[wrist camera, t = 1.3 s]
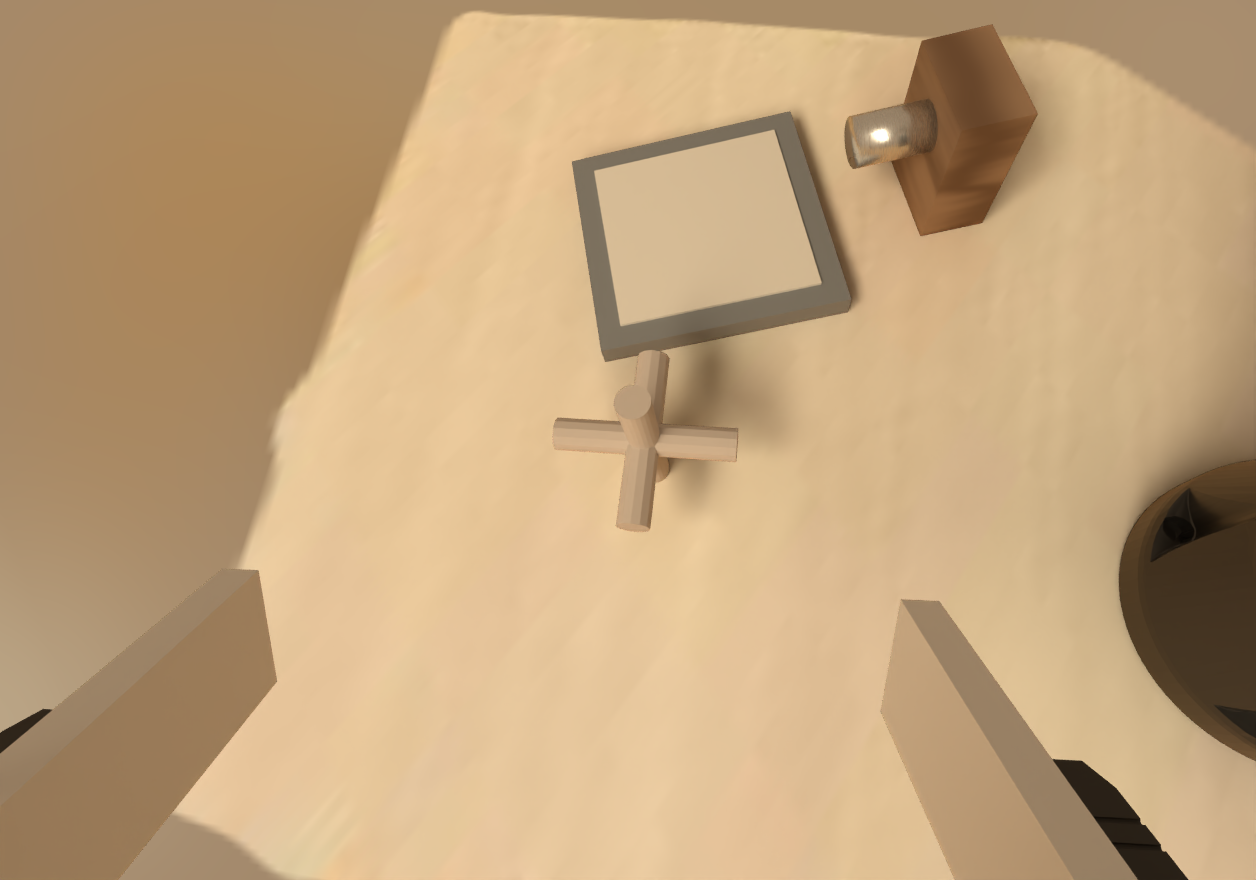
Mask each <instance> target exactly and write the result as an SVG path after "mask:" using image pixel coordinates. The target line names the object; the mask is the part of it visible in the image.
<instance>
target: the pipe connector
mask: <svg viewBox="0 0 1256 880" xmlns="http://www.w3.org/2000/svg"><path fill="white" fill-rule="evenodd" d="M669 359H670V358H669V357H668V355H667V354H665V353H663V352H661V351H655V350H646V351H643V352H641V353H639V356H638V362H637V369H636V377H635V385H629V386H626V387H624V388H622V389H621V390H620V391H619V392H618V393H617V394H616V396H615V399H614V408H615V411H616V413H617V416H618V418H619V421H603V420H586V419H569V418H557V419H556V420H555V423H554V427H553V436H552V437H553V446H554V449H556V450H568V451H583V452H597V453H612V454H625V461H624V468H623V476H622V484H621V491H620V499H619V506H618V514H617V522H616V527H618V528H620V529H623V530H627V531H634V532H646V531H649V530H650V526H651V517H652V508H653V499H654V491H655V482H660V481H662V480H664V479H665V478H666V477H667V475H668V473H669V463H668V459H667V457H671V458H685V459H700V460H715V461H729V462H736V458H737V444H738V429H737V428H720V427H704V426H687V425H670V424H662V420H663V411H664V403H665V394H666V385H667V376H668V368H669Z"/></svg>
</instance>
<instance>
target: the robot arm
mask: <svg viewBox="0 0 1256 880" xmlns="http://www.w3.org/2000/svg"><path fill="white" fill-rule="evenodd" d="M1119 591H1120V601H1121V607H1122V612H1123V616H1124V620H1125V623H1126V627H1127V630H1128V632H1129V635H1130V637H1131V640H1132V642H1133V644H1134V647H1135V649H1136V651H1137V653H1138V655H1139V656H1140V658H1141V660H1142V662H1143V664H1144V665H1145V667H1146V668H1147V670H1148V672H1149V673H1150V675H1151V676H1152V677H1153V679H1154V680H1155V682H1156V683H1157V684H1158V686H1159V687H1160V688H1161V689H1162V690H1163V692H1164V693H1165V694H1166V695H1167V696H1168V697H1169V699H1170V700H1171V701H1172V702H1173V703H1174V704H1175V705H1176V706H1177V707H1178V708H1179V709H1180V710H1181V711H1182V712H1183V713H1184V714H1185V715H1186V716H1187V717H1189V718H1190V719H1191V720H1192V721H1193V722H1194V723H1195V724H1197V725H1198V726H1199V727H1200V728H1202V729H1203V730H1204V731H1206V732H1207V733H1208V734H1210V735H1211V736H1213V737H1214V738H1215V739H1217V740H1218V741H1220V742H1221V743H1223V744H1225V745H1226V746H1228V747H1230V748H1231V749H1233V750H1235V751H1237V752H1239V753H1240V754H1242V755H1244V756H1246V757H1248V758H1250V759H1253V760H1255V761H1256V460H1251V461H1244V462H1239V463H1235V464H1230V465H1226V466H1223V467H1220V468H1216V469H1214V470H1211V471H1208V472H1206V473H1204V474H1202V475H1200V476H1197V477H1195V478H1193V479H1191V480H1189V481H1187V482H1185V483H1183V484H1181V485H1179V486H1177V487H1175V488H1173V489H1172V490H1170V491H1168V492H1167V493H1165V494H1164V495H1162V496H1161V497H1160V498H1158V499H1157V500H1156V501H1155V502H1154V503H1153V504H1151V505H1150V506H1149V508H1148V509H1147V510H1146V511H1145V512H1144V513H1143V514H1142V515H1141V517H1140V518H1139V519H1138V521H1137V522H1136V524H1135V525H1134V527H1133V529H1132V531H1131V533H1130V535H1129V537H1128V539H1127V542H1126V544H1125V547H1124V551H1123V554H1122V559H1121V564H1120V572H1119ZM276 682H277V678H276V672H275V666H274V660H273V654H272V648H271V642H270V636H269V630H268V624H267V618H266V612H265V606H264V600H263V594H262V589H261V583H260V577H259V571H258V570H240V569H221V570H220V571H219V572H218V573H216V574H215V575H214V576H213V577H211V578H210V579H209V580H208V581H207V582H206V583H204V584H203V585H202V586H201V587H200V588H198V589H197V590H196V591H195V592H194V593H192V594H191V595H190V596H189V597H188V598H186V599H185V600H184V601H183V602H182V603H180V604H179V605H178V606H177V607H176V608H174V609H173V610H172V611H171V612H170V613H168V614H167V615H166V616H165V617H164V618H162V619H161V620H160V621H159V622H158V623H157V624H155V625H154V626H153V627H152V628H150V629H149V630H148V631H147V632H146V633H144V634H143V635H142V636H141V637H140V638H138V639H137V640H136V641H135V642H134V643H132V644H131V645H130V646H129V647H128V648H126V649H125V650H124V651H123V652H122V653H120V654H119V655H118V656H117V657H116V658H114V659H113V660H112V661H111V662H110V663H108V664H107V665H106V666H105V667H104V668H102V669H101V670H100V671H99V672H98V673H96V674H95V675H94V676H93V677H92V678H90V679H89V680H88V681H87V682H86V683H84V684H83V685H82V686H81V687H80V688H79V689H77V690H76V691H75V692H74V693H73V694H71V695H70V696H69V697H68V698H67V699H65V700H64V701H63V702H62V703H60V704H59V705H58V706H57V707H56V708H54V709H53V710H50V709H42V710H41V711H39V712H37V713H35V714H33V715H31V716H30V717H28V718H26V719H24V720H22V721H20V722H19V723H17V724H15V725H13V726H11V727H9V728H8V729H6V730H4V731H2V732H1V733H0V880H118V879H119V878H120V877H121V876H122V875H123V873H124V872H125V871H126V869H127V868H128V867H129V866H130V864H131V863H132V862H133V861H134V859H135V858H136V857H137V856H138V855H139V853H140V852H141V851H142V850H143V848H144V847H145V846H146V845H147V843H148V842H149V841H150V840H151V838H152V837H153V836H154V834H155V833H156V832H157V831H158V830H159V828H160V827H161V826H162V825H163V823H164V822H165V821H166V820H167V818H168V817H169V816H170V814H171V813H172V812H173V811H174V809H175V808H176V807H177V806H178V804H179V803H180V802H181V801H182V799H183V798H184V797H185V796H186V794H187V793H188V792H189V791H190V789H191V788H192V787H193V786H194V784H195V783H196V782H197V781H198V779H199V778H200V777H201V776H202V774H203V773H204V772H205V771H206V769H207V768H208V767H209V766H210V764H211V763H212V762H213V761H214V759H215V758H216V757H217V756H218V754H219V753H220V752H221V751H222V749H223V748H224V747H225V746H226V744H227V743H228V742H229V741H230V739H231V738H232V737H233V736H234V734H235V733H236V732H237V731H238V729H239V728H240V727H241V726H242V724H243V723H244V722H245V721H246V719H247V718H248V717H249V716H250V714H251V713H252V712H253V711H254V709H255V708H256V707H257V706H258V704H259V703H260V702H261V701H262V699H263V698H264V697H265V696H266V694H267V693H268V692H269V691H270V689H271V688H272V687H273V686H274V684H275V683H276ZM881 714H882V716H883V718H884V721H885V723H886V725H887V727H888V730H889V732H890V734H891V736H892V739H893V741H894V743H895V745H896V748H897V750H898V752H899V755H900V757H901V759H902V761H903V764H904V766H905V768H906V770H907V773H908V775H909V777H910V779H911V782H912V784H913V786H914V789H915V791H916V793H917V795H918V798H919V800H920V802H921V804H922V807H923V809H924V811H925V813H926V816H927V818H928V820H929V822H930V825H931V827H932V829H933V832H934V834H935V836H936V838H937V841H938V843H939V845H940V847H941V850H942V852H943V854H944V856H945V859H946V861H947V863H948V866H949V868H950V870H951V872H952V875H953V877H954V879H955V880H1188V879H1187V877H1186V876H1185V875H1184V874H1183V872H1182V871H1181V870H1180V869H1179V867H1178V866H1177V865H1176V863H1175V862H1174V861H1173V860H1172V858H1171V857H1170V856H1169V855H1168V853H1167V852H1164V851H1162V849H1161V844H1160V843H1159V842H1158V841H1157V839H1156V838H1155V837H1154V836H1153V834H1152V833H1151V832H1150V830H1149V829H1148V828H1147V827H1146V825H1142V824H1141V822H1140V818H1139V816H1138V815H1137V814H1136V813H1135V811H1134V810H1133V809H1132V808H1131V806H1130V805H1129V804H1128V803H1127V801H1126V800H1125V799H1124V797H1123V796H1122V795H1121V794H1120V792H1119V791H1118V790H1117V789H1116V788H1115V787H1114V786H1113V785H1112V784H1110V783H1109V782H1108V781H1107V780H1105V779H1104V778H1103V777H1102V776H1100V775H1099V774H1098V773H1097V772H1095V771H1094V770H1093V769H1091V768H1090V767H1089V766H1088V765H1086V764H1085V763H1084V762H1083V761H1075V760H1055V759H1052V758H1051V757H1050V756H1049V754H1048V753H1047V751H1046V750H1045V749H1044V747H1043V746H1042V744H1041V743H1040V742H1039V740H1038V739H1037V737H1036V736H1035V735H1034V733H1033V732H1032V730H1031V729H1030V728H1029V726H1028V725H1027V723H1026V722H1025V721H1024V719H1023V718H1022V716H1021V715H1020V714H1019V712H1018V711H1017V709H1016V708H1015V707H1014V705H1013V704H1012V702H1011V701H1010V700H1009V698H1008V697H1007V695H1006V694H1005V693H1004V691H1003V690H1002V688H1001V687H1000V686H999V684H998V683H997V681H996V680H995V679H994V677H993V676H992V674H991V673H990V672H989V670H988V669H987V667H986V666H985V665H984V663H983V662H982V660H981V659H980V658H979V656H978V655H977V653H976V652H975V651H974V649H973V648H972V646H971V645H970V644H969V642H968V641H967V639H966V638H965V637H964V635H963V634H962V632H961V631H960V630H959V628H958V627H957V625H956V624H955V623H954V621H953V620H952V618H951V617H950V616H949V614H948V613H947V611H946V610H945V609H944V607H943V606H942V604H941V603H940V602H939V601H924V600H902V599H901V601H900V606H899V612H898V617H897V623H896V628H895V634H894V639H893V645H892V650H891V656H890V662H889V667H888V673H887V678H886V684H885V689H884V695H883V700H882V706H881Z"/></svg>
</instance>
